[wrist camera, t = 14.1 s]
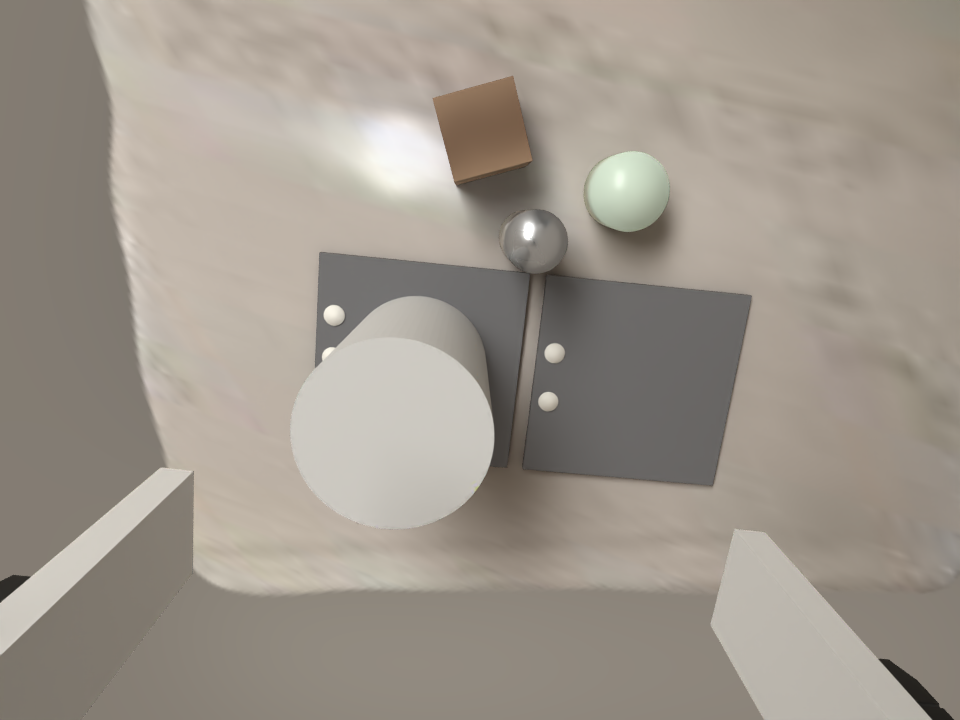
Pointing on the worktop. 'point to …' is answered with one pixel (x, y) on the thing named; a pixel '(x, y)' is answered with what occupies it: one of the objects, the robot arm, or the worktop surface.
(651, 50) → the worktop surface
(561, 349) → the pad two
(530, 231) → the metal peg
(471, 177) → the walnut block
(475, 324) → the pad three
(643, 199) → the pale green domed piece
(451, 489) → the white cylinder
